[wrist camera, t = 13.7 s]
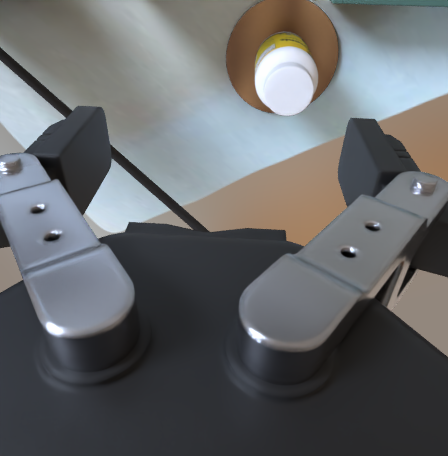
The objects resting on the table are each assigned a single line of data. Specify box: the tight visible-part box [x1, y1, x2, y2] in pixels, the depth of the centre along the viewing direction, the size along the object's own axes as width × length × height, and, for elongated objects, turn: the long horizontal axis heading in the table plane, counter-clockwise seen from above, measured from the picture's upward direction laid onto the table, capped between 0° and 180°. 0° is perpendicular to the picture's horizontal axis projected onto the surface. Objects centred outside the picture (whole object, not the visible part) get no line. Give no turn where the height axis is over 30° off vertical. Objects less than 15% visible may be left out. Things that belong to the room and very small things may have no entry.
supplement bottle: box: [255, 32, 318, 116], centre depth 36 cm, size 5×5×10 cm
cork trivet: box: [226, 0, 338, 113], centre depth 40 cm, size 11×11×1 cm
